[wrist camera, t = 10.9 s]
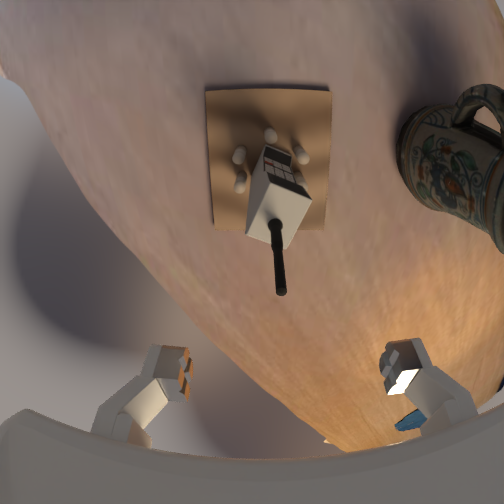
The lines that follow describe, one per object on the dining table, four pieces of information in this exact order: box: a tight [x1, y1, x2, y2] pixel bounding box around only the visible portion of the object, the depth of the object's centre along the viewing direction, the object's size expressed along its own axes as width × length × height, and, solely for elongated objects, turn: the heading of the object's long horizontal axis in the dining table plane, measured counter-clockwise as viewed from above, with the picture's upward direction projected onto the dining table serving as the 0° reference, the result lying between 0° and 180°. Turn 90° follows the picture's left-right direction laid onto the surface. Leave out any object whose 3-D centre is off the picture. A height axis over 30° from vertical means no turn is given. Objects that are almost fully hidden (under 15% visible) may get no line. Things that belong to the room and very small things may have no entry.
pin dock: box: [205, 89, 332, 230], centre depth 34 cm, size 20×16×6 cm
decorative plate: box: [395, 409, 427, 431], centre depth 83 cm, size 30×30×5 cm
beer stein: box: [397, 84, 504, 254], centre depth 24 cm, size 16×19×25 cm
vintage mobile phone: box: [245, 144, 312, 296], centre depth 26 cm, size 4×5×25 cm
